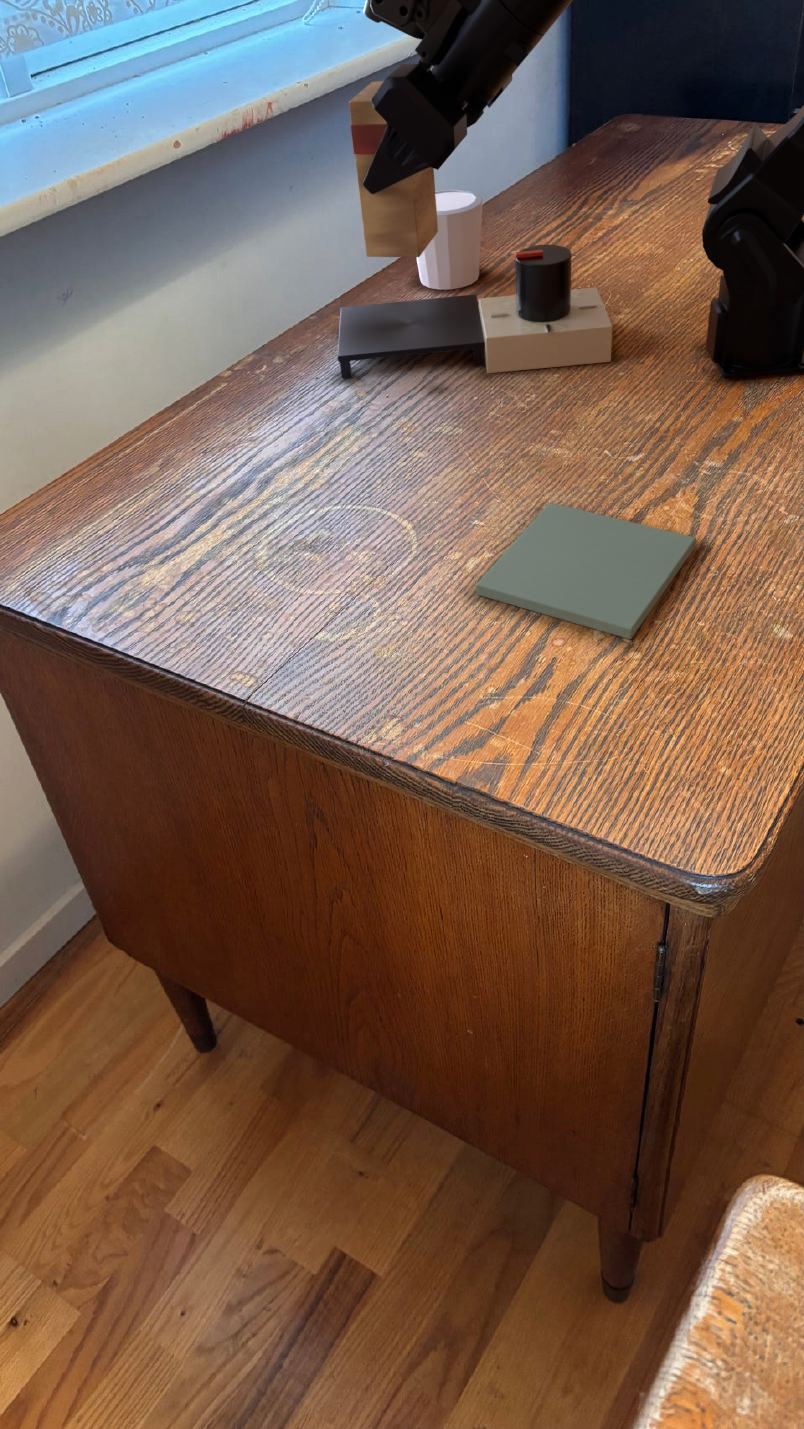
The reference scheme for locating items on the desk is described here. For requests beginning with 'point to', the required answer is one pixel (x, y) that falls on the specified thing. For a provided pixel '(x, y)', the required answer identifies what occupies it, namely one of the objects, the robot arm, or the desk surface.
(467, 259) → the white cup
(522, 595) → the mat
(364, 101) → the block
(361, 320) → the black low stand
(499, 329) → the panel
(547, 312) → the oven knob
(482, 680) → the desk surface
